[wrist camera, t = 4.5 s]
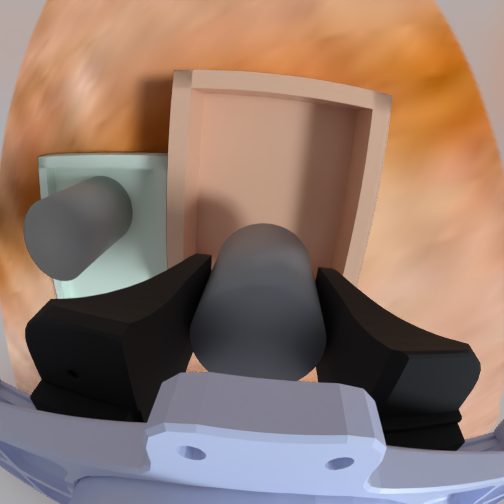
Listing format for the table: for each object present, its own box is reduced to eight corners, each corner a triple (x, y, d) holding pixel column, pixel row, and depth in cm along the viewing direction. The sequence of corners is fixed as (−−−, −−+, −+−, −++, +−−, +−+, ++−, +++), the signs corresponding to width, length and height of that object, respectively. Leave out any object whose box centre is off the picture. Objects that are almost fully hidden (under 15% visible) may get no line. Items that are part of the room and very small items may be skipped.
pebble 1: (134, 244, 17) (92, 287, 13) (79, 238, 17) (31, 274, 13) (132, 176, 16) (82, 200, 11) (74, 175, 16) (18, 197, 11)
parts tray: (176, 337, 20) (171, 348, 19) (72, 315, 20) (64, 324, 19) (174, 153, 15) (167, 156, 14) (50, 154, 16) (38, 157, 15)
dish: (335, 291, 18) (345, 322, 15) (184, 274, 18) (169, 303, 15) (370, 99, 14) (392, 95, 11) (193, 79, 14) (174, 70, 11)
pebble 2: (296, 314, 14) (302, 396, 10) (211, 296, 14) (185, 374, 10) (321, 235, 13) (346, 301, 8) (225, 213, 13) (197, 270, 8)
